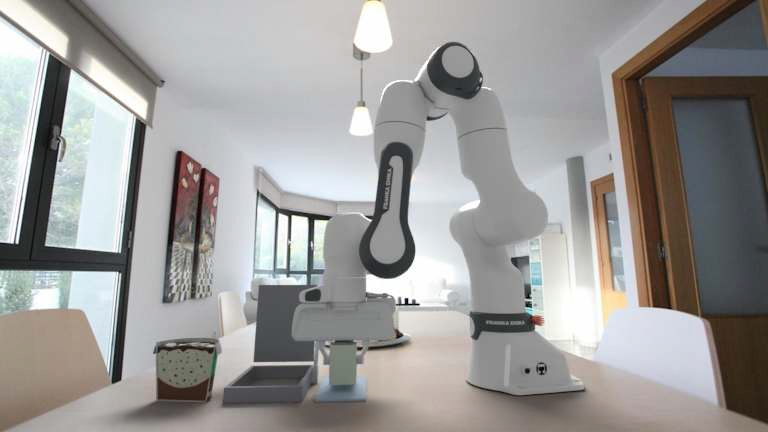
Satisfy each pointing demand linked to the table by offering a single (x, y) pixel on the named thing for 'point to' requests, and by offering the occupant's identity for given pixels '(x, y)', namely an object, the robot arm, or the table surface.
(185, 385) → the food container
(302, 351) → the lid
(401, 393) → the table surface
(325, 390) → the mat
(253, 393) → the case
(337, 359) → the module
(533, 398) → the table surface
